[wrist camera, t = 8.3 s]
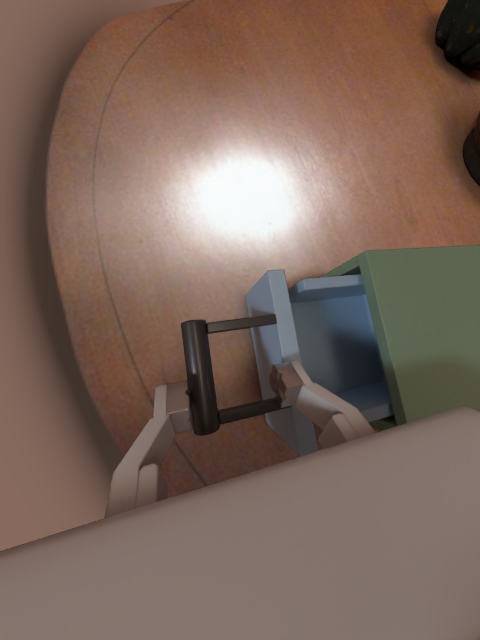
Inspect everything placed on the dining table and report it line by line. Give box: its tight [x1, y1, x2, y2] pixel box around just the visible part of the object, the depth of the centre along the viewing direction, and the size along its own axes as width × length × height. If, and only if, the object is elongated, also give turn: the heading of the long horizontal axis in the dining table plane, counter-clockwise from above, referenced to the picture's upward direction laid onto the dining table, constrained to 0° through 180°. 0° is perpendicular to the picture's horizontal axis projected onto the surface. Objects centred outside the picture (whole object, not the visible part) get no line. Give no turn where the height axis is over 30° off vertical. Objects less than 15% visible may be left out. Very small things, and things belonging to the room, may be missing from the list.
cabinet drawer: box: [181, 269, 394, 457], centre depth 16 cm, size 18×11×6 cm, turn 99°
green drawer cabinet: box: [320, 245, 480, 431], centre depth 18 cm, size 14×13×8 cm
